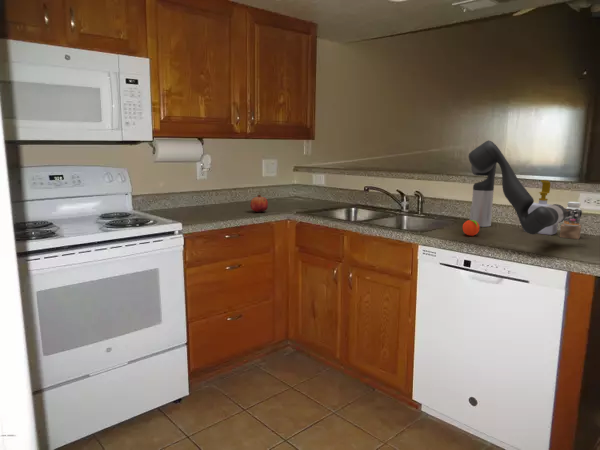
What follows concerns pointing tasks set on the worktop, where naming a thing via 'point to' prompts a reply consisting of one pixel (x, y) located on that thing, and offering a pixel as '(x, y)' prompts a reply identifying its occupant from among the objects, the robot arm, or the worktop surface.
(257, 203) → the fruit
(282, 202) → the worktop surface
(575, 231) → the walnut block
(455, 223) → the worktop surface
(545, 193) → the soap bottle
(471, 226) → the clementine
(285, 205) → the worktop surface
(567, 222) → the pill bottle
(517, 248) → the worktop surface
